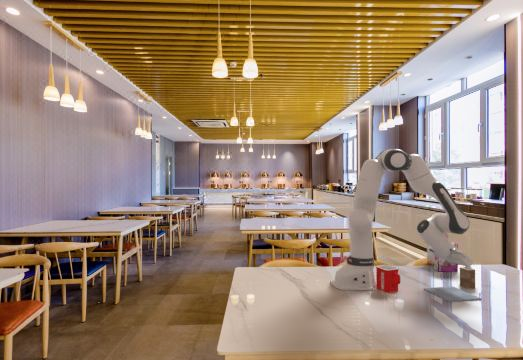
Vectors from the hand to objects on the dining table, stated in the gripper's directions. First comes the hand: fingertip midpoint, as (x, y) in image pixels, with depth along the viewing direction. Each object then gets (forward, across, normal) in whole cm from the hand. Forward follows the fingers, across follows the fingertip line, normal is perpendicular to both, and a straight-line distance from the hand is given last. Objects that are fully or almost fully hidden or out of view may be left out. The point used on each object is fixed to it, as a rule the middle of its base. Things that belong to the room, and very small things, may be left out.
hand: (461, 266), depth 152 cm
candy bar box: (+17, +26, -2) cm, 31 cm away
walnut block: (+10, 0, +5) cm, 11 cm away
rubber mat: (-2, -8, +16) cm, 18 cm away
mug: (-20, +1, +34) cm, 39 cm away
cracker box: (+20, +38, -5) cm, 43 cm away
